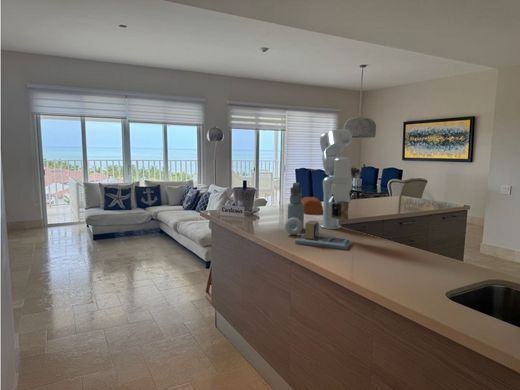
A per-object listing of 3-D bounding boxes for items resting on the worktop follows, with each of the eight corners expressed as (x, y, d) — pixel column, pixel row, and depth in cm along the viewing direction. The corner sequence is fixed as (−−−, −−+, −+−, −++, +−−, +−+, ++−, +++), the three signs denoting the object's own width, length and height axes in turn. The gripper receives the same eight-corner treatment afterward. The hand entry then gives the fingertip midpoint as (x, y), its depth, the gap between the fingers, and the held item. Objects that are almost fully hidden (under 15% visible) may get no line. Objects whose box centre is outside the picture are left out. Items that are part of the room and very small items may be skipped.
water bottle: (302, 231, 207) (303, 184, 203) (286, 230, 209) (287, 183, 205) (304, 227, 217) (305, 182, 213) (288, 226, 219) (289, 182, 215)
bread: (302, 214, 263) (303, 200, 261) (299, 208, 289) (299, 195, 288) (323, 214, 263) (324, 200, 261) (318, 208, 289) (318, 196, 288)
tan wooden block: (340, 220, 183) (341, 203, 182) (330, 217, 190) (331, 201, 189) (347, 219, 186) (348, 202, 184) (337, 216, 193) (338, 200, 191)
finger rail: (302, 238, 190) (303, 219, 189) (351, 243, 180) (352, 223, 178) (295, 243, 179) (295, 223, 178) (346, 249, 168) (347, 228, 167)
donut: (284, 235, 196) (285, 218, 194) (284, 234, 199) (284, 216, 198) (302, 235, 196) (303, 218, 195) (301, 234, 199) (302, 217, 198)
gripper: (347, 179, 192) (346, 212, 195) (323, 181, 184) (322, 215, 187) (357, 181, 186) (356, 215, 189) (332, 183, 178) (331, 218, 180)
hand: (339, 214), depth 188 cm, fingers closed on tan wooden block, 5 cm apart
